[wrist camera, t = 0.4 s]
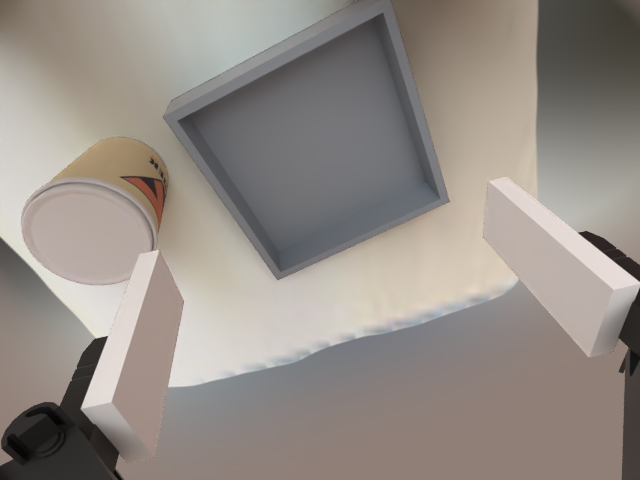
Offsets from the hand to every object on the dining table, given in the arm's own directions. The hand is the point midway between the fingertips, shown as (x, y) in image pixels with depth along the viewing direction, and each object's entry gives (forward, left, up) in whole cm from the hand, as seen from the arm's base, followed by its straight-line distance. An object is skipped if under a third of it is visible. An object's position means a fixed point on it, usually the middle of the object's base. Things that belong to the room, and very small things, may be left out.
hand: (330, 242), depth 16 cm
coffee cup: (+1, -18, -26) cm, 32 cm away
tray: (+7, 0, -26) cm, 27 cm away
